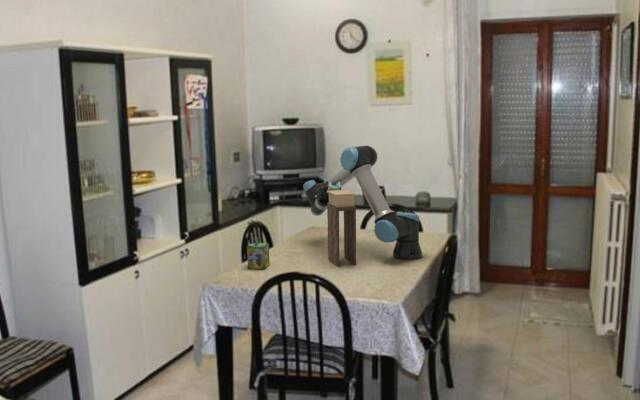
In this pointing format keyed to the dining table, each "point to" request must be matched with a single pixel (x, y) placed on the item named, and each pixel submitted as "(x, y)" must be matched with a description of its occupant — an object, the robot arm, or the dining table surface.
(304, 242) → the dining table surface
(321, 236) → the dining table surface
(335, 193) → the mailer lid
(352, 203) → the kraft mailer box
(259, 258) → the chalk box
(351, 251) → the walnut stand
